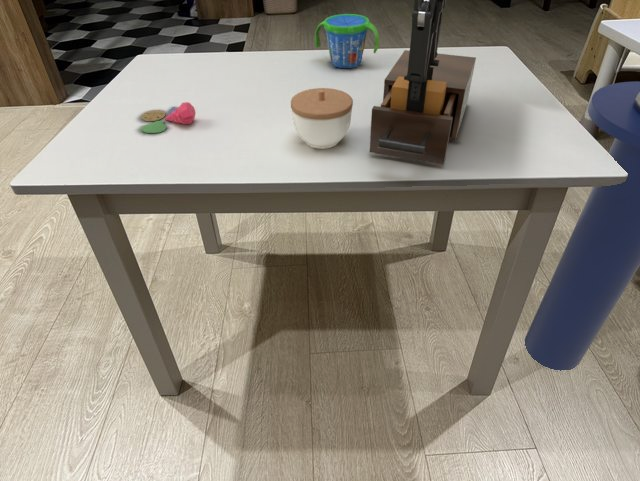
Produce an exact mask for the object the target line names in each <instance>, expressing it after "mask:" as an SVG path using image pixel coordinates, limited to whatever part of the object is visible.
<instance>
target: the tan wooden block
mask: <svg viewBox="0 0 640 481" xmlns="http://www.w3.org/2000/svg"><path fill="white" fill-rule="evenodd" d="M408 86H409V81H407V80H404V77H400V76H399V77H398V78H397V80H396V82H395V83H394V85H393V86H392V95H391V106H390V108H393V109H400V110H406V105H407V95H408ZM446 87H447V82H442V81H433V80H428V81H427V88H426V95H425V103H424V110H423V113H428V114H436V115H441V113H442V111H443V105H444V99H445V93H446Z"/></svg>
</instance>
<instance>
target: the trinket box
mask: <svg viewBox="0 0 640 481" xmlns="http://www.w3.org/2000/svg"><path fill="white" fill-rule="evenodd" d="M353 106H354V101H353V98H352V96H351V95H350V94H348V92H345V91H343V90H340V89H335V88H330V87H318V88H310V89H309V88H308V89H306V90H302V91H300V92H297V93H296V94H295V95H294V96H292V98H291V99H290V108H291V117H292V122H293V126H294V129H295V131H296V133H297V135H298V136H299V138H301V140H302V141H304V142H305V143H306V145H307V146H309V147H311V148H313V149H318V150H327V149H331V148H333V147H336V146H337V145H339V142H341V140H343V139H344V137H345V136H346V135H347V133H348V131H349V129H350V126H351V122H352V117H353V116H352V114H353Z"/></svg>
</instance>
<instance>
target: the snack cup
mask: <svg viewBox="0 0 640 481" xmlns="http://www.w3.org/2000/svg"><path fill="white" fill-rule="evenodd" d="M322 27H324V30H325V33H326V40H327V45H328V53H329V59H330V62H331V65H333V66H334V67H335V68H339V69H352V68H356V67H358V66H361V64H362V62H363V56H364V51H365V44H366V38H367V33H368V30H370V31H371V32H372V33H373V36H374V46H373V54H376V53H377V51H378V50H379V45H380V36H379V32H378V30H377V28H376V26H375V25H374V24H373V23H371V22H370V19H369V18H368V17H367V16H365V15H361V14H354V13H344V14H343V13H342V14H341V13H340V14H335V15H331V16H327V17H326V18H325V19H324V20H323V21H322V22H320V23H319V24H318V25H317V27H316V29H315V33H314V45H315V47H316V49H318V48H320V46H321V40H320V30H321V28H322Z"/></svg>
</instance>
